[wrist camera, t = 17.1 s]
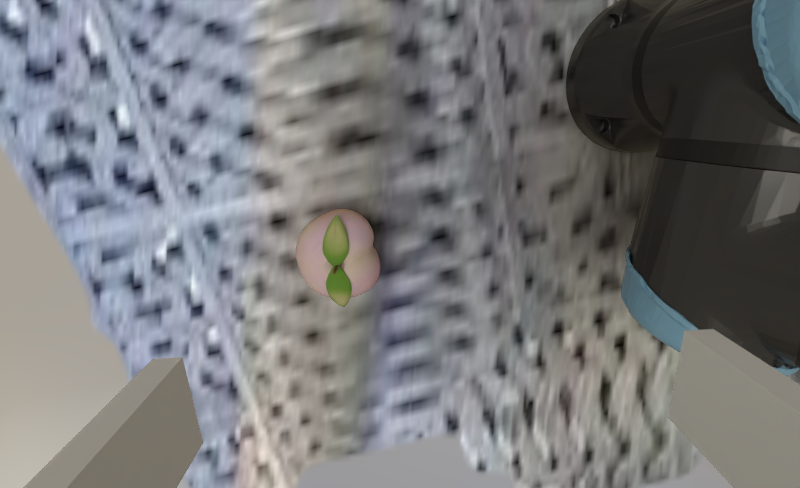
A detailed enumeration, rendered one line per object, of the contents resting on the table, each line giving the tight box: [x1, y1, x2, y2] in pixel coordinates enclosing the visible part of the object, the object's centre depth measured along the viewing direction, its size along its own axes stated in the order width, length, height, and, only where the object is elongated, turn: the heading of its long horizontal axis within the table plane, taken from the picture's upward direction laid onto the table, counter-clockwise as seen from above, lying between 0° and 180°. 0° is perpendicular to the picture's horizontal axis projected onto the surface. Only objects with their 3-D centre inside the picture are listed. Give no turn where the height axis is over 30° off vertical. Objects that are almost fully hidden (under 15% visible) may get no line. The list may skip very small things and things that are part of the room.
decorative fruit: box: [296, 209, 380, 307], centre depth 41 cm, size 9×8×10 cm
